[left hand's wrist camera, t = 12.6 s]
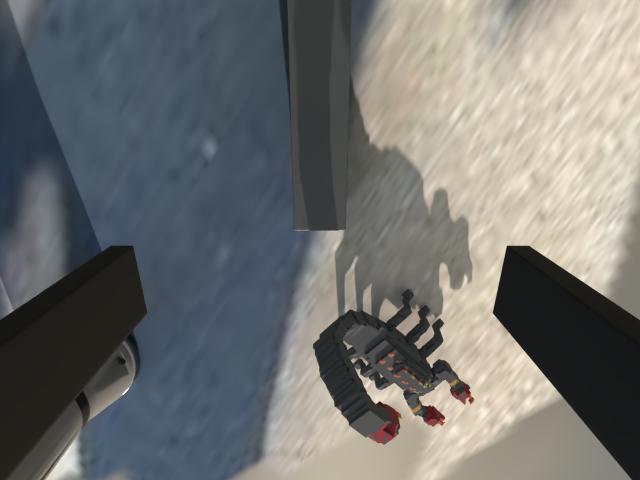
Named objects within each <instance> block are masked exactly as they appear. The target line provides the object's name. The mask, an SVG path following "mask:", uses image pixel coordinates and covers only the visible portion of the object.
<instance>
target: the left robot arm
mask: <svg viewBox="0 0 640 480" xmlns="http://www.w3.org/2000/svg"><path fill="white" fill-rule="evenodd" d="M146 314H147V310H146V305H145V300H144V296H143V291H142V286H141V281H140V277H139V272H138V267H137V262H136V258H135V253H134V248H133V246H110V247H109V248H107V249H106V250H104V251H103V252H101V253H100V254H98V255H97V256H95V257H94V258H92V259H91V260H89V261H88V262H86V263H85V264H83V265H82V266H80V267H79V268H77V269H76V270H74V271H73V272H71V273H70V274H68V275H67V276H65V277H64V278H62V279H61V280H59V281H58V282H56V283H55V284H53V285H52V286H50V287H49V288H47V289H46V290H44V291H43V292H41V293H40V294H38V295H37V296H35V297H34V298H32V299H31V300H29V301H28V302H26V303H25V304H24V305H22V306H21V307H19V308H18V309H16V310H15V311H13V312H12V313H10V314H9V315H7V316H6V317H4V318H3V319H1V320H0V480H45V479H46V478H47V477H48V475H49V474H50V473H51V471H52V470H53V468H54V467H55V466H56V464H57V463H58V462H59V460H60V459H61V457H62V456H63V455H64V453H65V452H66V451H67V449H68V448H69V446H70V445H71V444H72V442H73V441H74V440H75V438H76V437H77V435H78V434H79V433H80V431H81V430H82V429H83V427H84V426H85V425H86V423H87V422H88V421H89V420H90V419H91V418H93V417H94V416H95V415H97V414H98V413H99V412H101V411H102V410H103V409H105V408H106V407H107V406H109V405H110V404H111V403H113V402H114V401H115V400H117V399H118V398H119V397H121V396H122V395H123V394H124V393H125V392H126V391H127V390H128V389H129V387H130V386H131V384H132V383H133V381H134V380H135V378H136V377H137V375H138V372H139V368H140V357H139V353H138V350H137V347H136V345H135V343H134V342H133V340H132V338H131V337H130V336H129V334H130V333H131V332H132V331H133V329H134V328H135V327H136V326H137V325H138V323H139V322H140V321H141V320H142V319H143V317H144V316H145V315H146ZM493 314H494V315H495V316H496V317H497V319H498V320H499V321H500V322H501V323H502V325H503V326H504V327H505V328H506V329H507V331H508V332H509V333H510V334H511V335H512V337H513V338H514V339H515V340H516V341H517V343H518V344H519V345H520V346H521V347H522V349H523V350H524V351H525V352H526V353H527V355H528V356H529V357H530V358H531V359H532V361H533V362H534V363H535V364H536V365H537V367H538V368H539V369H540V370H541V371H542V373H543V374H544V375H545V376H546V377H547V379H548V380H549V381H550V382H551V383H552V385H553V386H554V387H555V388H556V389H557V391H558V392H559V393H560V394H561V395H562V397H563V398H564V399H565V400H566V401H567V402H568V404H569V405H570V406H571V407H572V409H573V410H574V411H575V412H576V413H577V414H578V416H579V417H580V418H581V419H582V421H583V422H584V423H585V424H586V425H587V427H588V428H589V429H590V430H591V431H592V432H593V434H594V435H595V436H596V437H597V438H598V440H599V441H600V442H601V443H602V444H603V446H604V447H605V448H606V449H607V450H608V452H609V453H610V454H611V455H612V456H613V458H614V459H615V460H616V461H617V462H618V464H619V465H620V466H621V467H622V468H623V470H624V471H625V472H626V473H627V474H628V476H629V477H630V478H631V479H632V480H640V320H639V319H637V318H636V317H634V316H633V315H631V314H630V313H628V312H627V311H625V310H624V309H622V308H621V307H619V306H618V305H616V304H615V303H614V302H612V301H611V300H609V299H608V298H606V297H605V296H603V295H602V294H600V293H599V292H597V291H596V290H594V289H593V288H591V287H590V286H588V285H587V284H585V283H584V282H582V281H581V280H579V279H578V278H576V277H575V276H573V275H572V274H570V273H569V272H567V271H566V270H564V269H563V268H561V267H560V266H558V265H557V264H555V263H554V262H552V261H551V260H549V259H548V258H546V257H545V256H543V255H542V254H540V253H539V252H537V251H536V250H534V249H533V248H531V247H530V246H507V248H506V253H505V258H504V262H503V267H502V272H501V277H500V281H499V286H498V291H497V296H496V300H495V305H494V310H493Z"/></svg>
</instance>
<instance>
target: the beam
mask: <svg viewBox="0 0 640 480" xmlns="http://www.w3.org/2000/svg"><path fill="white" fill-rule="evenodd" d="M351 7H352V0H287V14H288V46H289V79H290V112H291V145H292V177H293V210H294V230H346V194H347V157H348V119H349V82H350V44H351Z"/></svg>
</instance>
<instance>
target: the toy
mask: <svg viewBox="0 0 640 480" xmlns="http://www.w3.org/2000/svg"><path fill="white" fill-rule="evenodd" d="M402 296H403V297H404V299H403V300H402V301H403V304H404V307H402V308H401V309H400V310H399V311H398V312H397V314H396V315H394V316H393V317H392V318H391V319H390V320H388V321H387V323H385V322H383V321H381V320H379V319H377V318H374V317H372V316H371V315H369V314H367V313H366V312H364V311H362V310H361V311H360V312H355V311H353V310H349V311H348V312H347V313H346V314H344V315H342V316H340V317H339V318H338V319H337V320H336V321H335V322H333V323H332V324H331V325H330V326H329V327H328V328H327V329H325V330H324V331H323V332H322V333H321V334H320V339H318V340H317V341H316V342H315V343H314V344H313V348H314V350H315V356H316V358H317V362H318V364H319V372H320V377H321V378H322V380H323V381H324V383H325V384H326V387H327V389H328V391H329V393H330V395H331V397H332V399H333V400H334V405H335V407H337V408H338V409H339V410H340V411H341V413H342V415H343V416H344V417H345V418H346V419H347V420H348V422H349V426H351V427H352V428H354V429H355V430H356V431H358V432H359V433H360V434H362V435H363V436H364V437H369V438H371V439H372V440H373V441H376V442H377V443H383V444H386V443H387V442H389V441H390V440H392V439H393V438H394V437H396V436H397V435H398V430H399V429H400V424H399V420H400V419H402V418H401V414H400V413H398V412H397V411H395V410H394V409H393V408H392V407H390V406H389V405H386V404H383V403H381V402H380V401H379V402H378V403H377V404H375V403H374V402H373V401H372V400H371V398H370V396H369V395H368V394H367V391H366V389H365V388H364V386H363V383H362V380H361V379H360V378H359V376H358V374H357V372H356V370H355V368H356V369H361V371H360V374H361V375H362V376H364V377H368V376H369V379H370V380H371V381H373V380H375V385H376V388H377V389H379V390H383V389H385V388H387V387H388V386H390V385H391V384H393V383H395V384H397V385H398V386H399V387H400V388H402V389H403V390H404V389H406V390H405V391H404V393H403V395H404V397H405V400H406V402H407V403H408V406H409V407H410V409H411V411H412V412H413V414H414V415H415V416H417V415H419V416H421V417H423V420H424V422H425V423H427V424H428V425H431V426H435V425H436V424H438V423H439V424H440V425H441V426H442V425H443V424H444V423H443V422H442V421H443V420H445V416H444V415H442V414H441V413H440V412H439V411H438V410H437V409H436V408H435V407H434V406H432V407H431V406H430V405H429V406H423V405H422V404H421V401H420V400H419V397H420V396H423V395H425V394H427V393H429V392H430V391H432V390H434V388H435V387H436V386H437V385H439V384H440V383H441V382H442V381H444V380H446V381H447V382H448V383H449V385H450V386H451V389H450V391H451V394H452V395H453V396H454V397H455V398H456V399H457V400H458V399H459V400H460V401H461V402H462V403H464V404H465V403H466V402H465V399H466V398H468V397H469V398H470V399H469V400H468V401H469V402H470V404H472V403H473V402H474V398H473V397H472V396H471V392H470V391H469V389H470V387H469V385H468V384H465V383H464V382H462V381H461V380H460V379H459V378H458V375H457V374H456V373H455V372H454V371H453V370H452V368H451V367H450V365H449V363H447V362H446V361H445V360H440V359H438V360H437V361H436V362H435V363H434V364H433V368H431V367H430V364H429V363H428V362H427V360H426V358H427V357H428V356H429V355H430V354H431V353H433V352H434V351H435V350H436V349H437V348H438V347H439V346H440V345H441V344H442V342H443V338H442V335H441V332H440V328H441V327H442V326H443V324H444V323H443V321H442V320H441V319H438V320H437V321H436V322H435V323H434V324H433V325H432V328H433V330H434V333H435V334H434V337H433V338H432V339H430V340H429V341H428V342H427V343H426V344H425V345H424V346H422V347H421V349H417V346H416V345H415V344H413V343H415V342H416V341H418V340H419V338H420V336H421V335H422V334H424V333H425V332H426V331H427V329H428V328H429V326H430V324H429V322H428V320H427V318H426V315H427V313H428V312H429V311H430V310H429V308H428V307H427V306H425V307H423V308H422V309H421V310H419V311H418V314H419V317H420V319H421V320H420V321H419V322H420V323H419V324H417V325H416V326H415V327H414V328H413V329H412V330H411V331H410V332H409V333H408V334H407V335H406V336H404V335H403V334H402V333H401V332H399V331H398V330H397V329H396V327H397V326H398V325H399V324H400V323H401V322H402V321H404V320H405V319H406V318H407V317H408V316H409V315H410V314H411V313H412V311H411V307H410V305H409V301H410V300H411V299H412V298H413V296H414V294H413V293H412V292H411V291H410V290H409V289H408V290H407V291H406V292H405V293H404V294H402ZM343 341H345V342H346V343H348V344H349V345H352V346H353V347H351V348H350V349H348V350H347V347H346V345H345V344H344V343H343ZM359 354H360V355H361V356H362V357H363V358H364V359H365V360H366V361H367V362H368V363H369V364H368V365H367V366H366V365H365V363H364V362H363V361H362V360H361V359H358V360H357V361H356V362H354V363H352V362H351V359H353V358H354V359H355V358H356V357H357V356H358V355H359ZM379 373H380V374H381V375H382V376H384V377H382V378H381V377H380V374H379Z"/></svg>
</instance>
